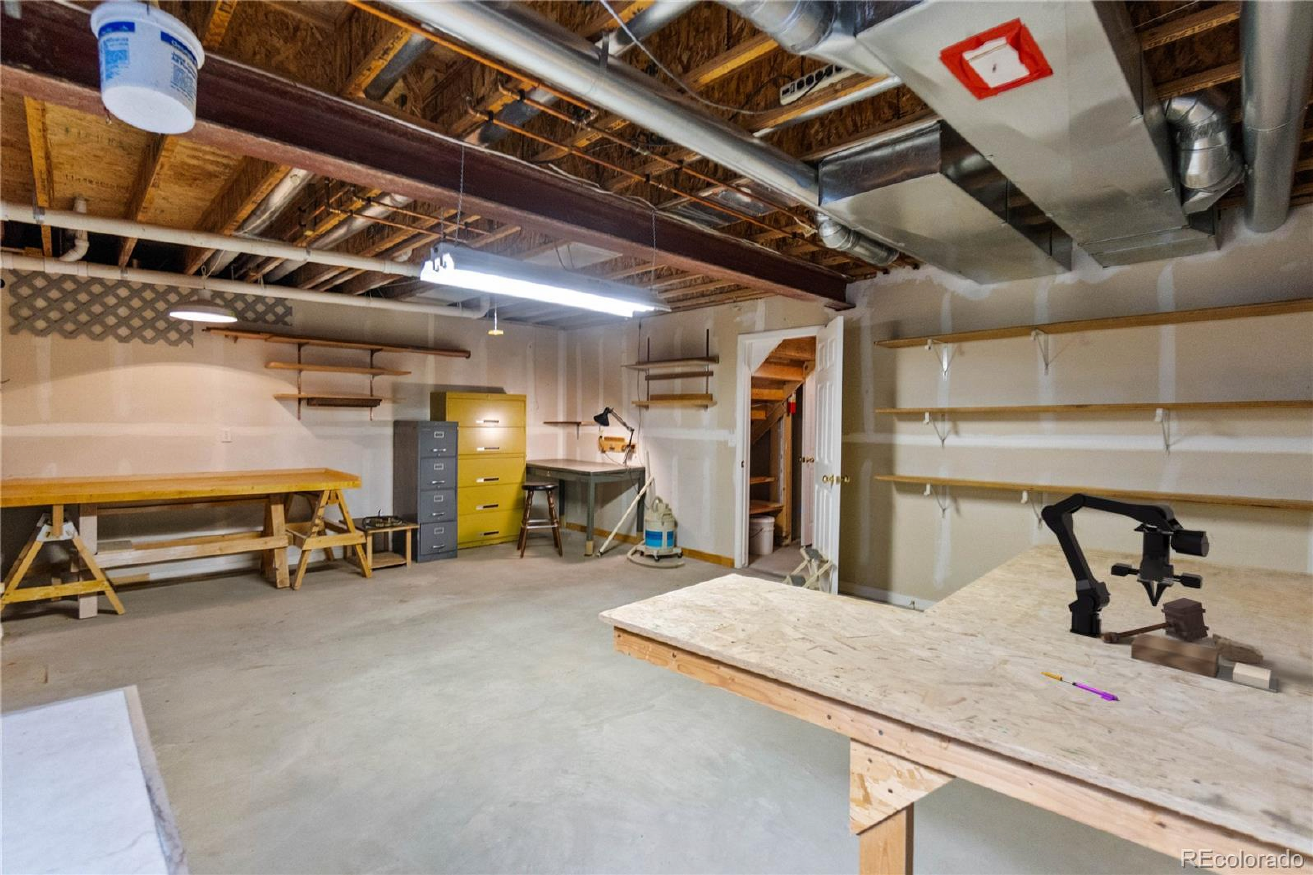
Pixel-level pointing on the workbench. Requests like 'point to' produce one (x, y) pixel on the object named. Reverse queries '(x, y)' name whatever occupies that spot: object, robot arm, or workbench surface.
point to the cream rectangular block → (1252, 675)
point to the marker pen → (1086, 688)
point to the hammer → (1173, 622)
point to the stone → (1236, 650)
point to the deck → (1175, 654)
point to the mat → (1227, 675)
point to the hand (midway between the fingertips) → (1154, 606)
